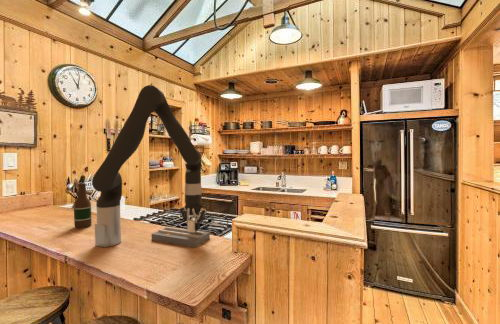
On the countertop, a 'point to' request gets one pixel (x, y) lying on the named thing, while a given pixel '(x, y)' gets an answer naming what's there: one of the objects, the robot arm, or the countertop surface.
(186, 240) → the console
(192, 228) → the fader tab
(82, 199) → the beer bottle
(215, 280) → the countertop surface
